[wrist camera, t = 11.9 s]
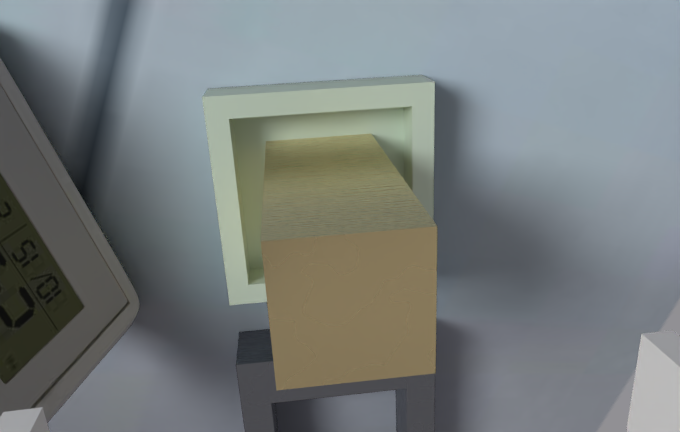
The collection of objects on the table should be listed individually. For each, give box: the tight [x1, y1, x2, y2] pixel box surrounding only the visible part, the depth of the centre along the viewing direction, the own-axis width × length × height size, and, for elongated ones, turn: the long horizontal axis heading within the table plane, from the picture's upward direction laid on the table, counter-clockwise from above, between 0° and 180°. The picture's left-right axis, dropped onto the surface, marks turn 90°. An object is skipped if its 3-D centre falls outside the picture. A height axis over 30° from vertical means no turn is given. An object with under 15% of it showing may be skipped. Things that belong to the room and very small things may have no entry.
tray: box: [202, 75, 435, 305], centre depth 28 cm, size 10×10×2 cm
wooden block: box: [261, 134, 437, 390], centre depth 23 cm, size 5×5×12 cm
